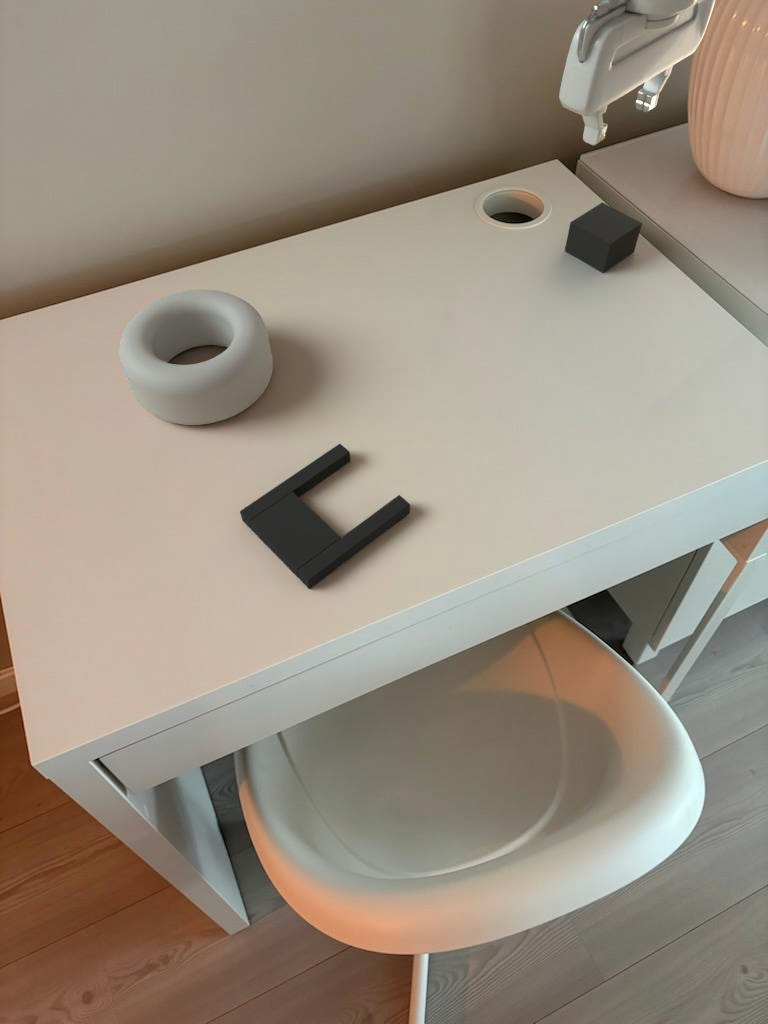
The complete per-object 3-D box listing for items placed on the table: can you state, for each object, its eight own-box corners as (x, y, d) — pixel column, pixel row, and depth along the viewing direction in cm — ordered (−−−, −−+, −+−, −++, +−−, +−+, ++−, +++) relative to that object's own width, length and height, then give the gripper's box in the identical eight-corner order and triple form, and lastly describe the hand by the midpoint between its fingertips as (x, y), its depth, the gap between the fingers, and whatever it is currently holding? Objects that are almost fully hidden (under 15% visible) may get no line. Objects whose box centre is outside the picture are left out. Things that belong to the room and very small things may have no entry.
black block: (634, 252, 92) (642, 223, 89) (603, 273, 90) (610, 244, 86) (595, 231, 94) (602, 202, 91) (564, 251, 92) (570, 222, 89)
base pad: (410, 513, 70) (410, 503, 68) (309, 589, 65) (307, 581, 64) (341, 452, 74) (339, 443, 73) (242, 520, 70) (239, 511, 68)
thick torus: (109, 415, 78) (87, 368, 72) (170, 321, 86) (154, 273, 81) (244, 442, 75) (231, 395, 70) (293, 343, 83) (286, 294, 78)
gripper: (615, 20, 64) (584, 173, 75) (741, -47, 72) (696, 100, 83) (557, 0, 67) (535, 151, 78) (684, -63, 75) (648, 82, 86)
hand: (619, 124), depth 81 cm, fingers open, 8 cm apart
